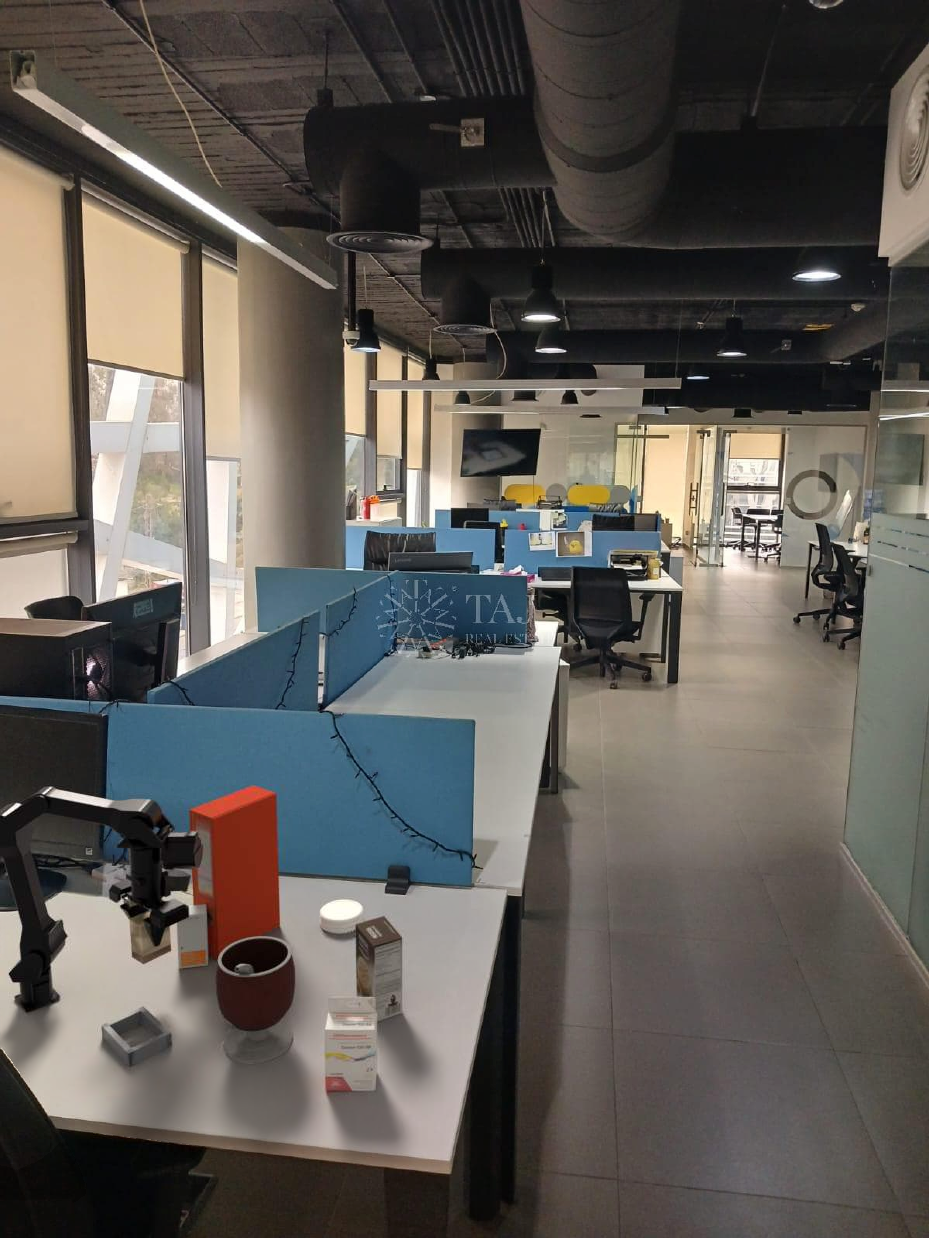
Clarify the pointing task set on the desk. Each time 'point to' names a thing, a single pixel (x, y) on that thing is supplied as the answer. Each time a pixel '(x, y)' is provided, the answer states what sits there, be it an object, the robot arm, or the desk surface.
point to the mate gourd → (256, 997)
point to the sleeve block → (146, 940)
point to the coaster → (341, 916)
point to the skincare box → (193, 938)
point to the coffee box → (379, 965)
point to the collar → (144, 1049)
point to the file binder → (237, 866)
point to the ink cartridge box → (351, 1045)
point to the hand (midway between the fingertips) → (150, 941)
